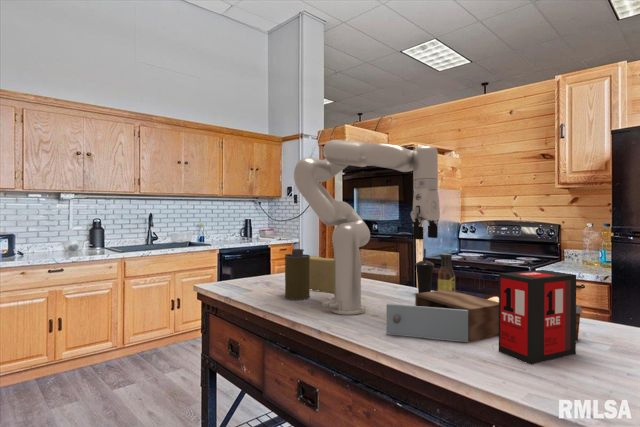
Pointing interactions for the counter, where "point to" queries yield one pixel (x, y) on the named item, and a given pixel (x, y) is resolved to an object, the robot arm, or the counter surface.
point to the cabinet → (479, 310)
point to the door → (427, 322)
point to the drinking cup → (424, 275)
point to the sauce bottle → (446, 274)
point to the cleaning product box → (537, 315)
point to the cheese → (321, 274)
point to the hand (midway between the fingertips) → (425, 238)
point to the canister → (297, 275)
